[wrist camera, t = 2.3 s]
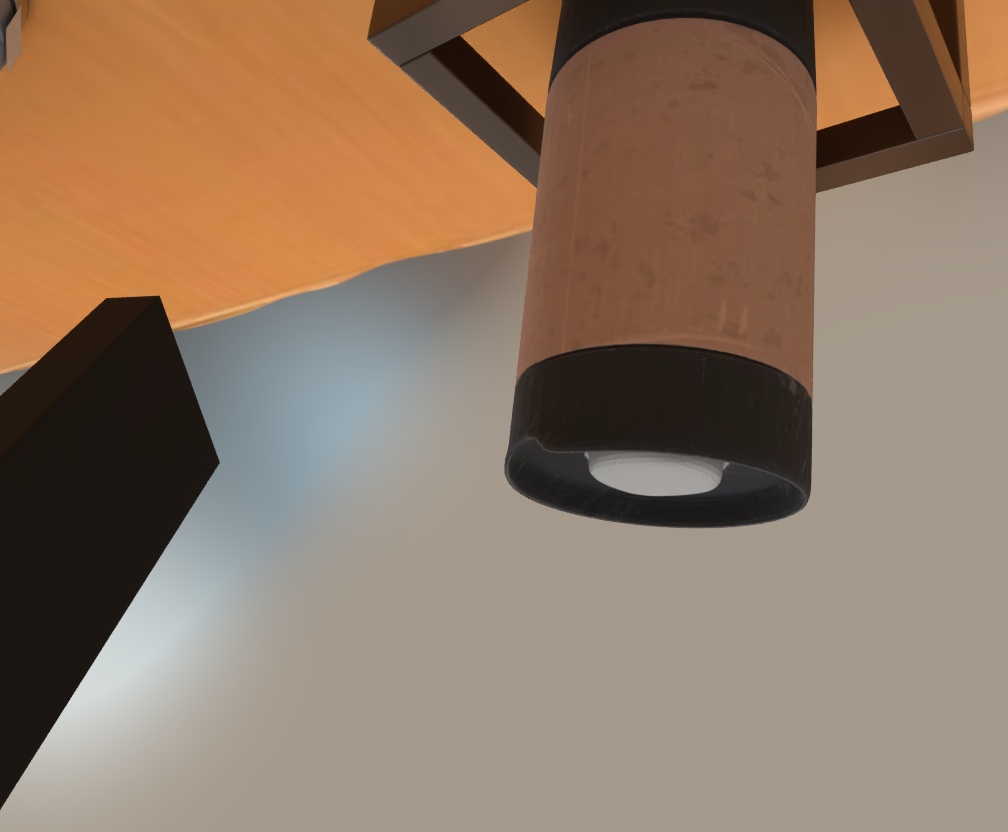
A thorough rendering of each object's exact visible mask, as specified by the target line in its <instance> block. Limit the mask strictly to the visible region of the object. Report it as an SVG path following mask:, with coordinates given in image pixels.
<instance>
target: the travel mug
mask: <svg viewBox="0 0 1008 832" xmlns="http://www.w3.org/2000/svg"><path fill="white" fill-rule="evenodd" d="M816 95H817V94H816V67H815V40H814V13H813V0H563V1H562V7H561V13H560V20H559V26H558V32H557V39H556V45H555V51H554V57H553V64H552V70H551V76H550V82H549V89H548V97H547V104H546V112H545V121H544V130H543V139H542V148H541V157H540V167H539V176H538V185H537V194H536V203H535V212H534V221H533V230H532V239H531V249H530V258H529V268H528V277H527V286H526V295H525V303H524V312H523V321H522V331H521V340H520V349H519V358H518V367H517V376H516V385H515V394H514V403H513V412H512V421H511V430H510V439H509V446H508V451H507V455H506V458H505V476H506V478H507V481H508V482H509V484H510V485H511V486H512V487H513V489H515V490H516V491H517V492H519V493H520V494H522V495H523V496H525V497H527V498H528V499H531V500H533V501H535V502H537V503H540V504H542V505H545V506H548V507H551V508H554V509H557V510H560V511H564V512H568V513H572V514H576V515H580V516H585V517H589V518H595V519H600V520H605V521H612V522H619V523H626V524H635V525H645V526H657V527H673V528H674V527H675V528H723V527H738V526H748V525H755V524H762V523H767V522H772V521H776V520H779V519H783V518H786V517H788V516H791V515H793V514H795V513H797V512H798V511H800V510H802V509H803V508H804V507H805V506H806V504H807V502H808V499H809V496H810V491H811V466H812V396H813V393H812V392H813V328H814V326H813V325H814V261H815V260H814V258H815V195H816V129H817V101H816Z"/></svg>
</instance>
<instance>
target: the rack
mask: <svg viewBox="0 0 1008 832" xmlns="http://www.w3.org/2000/svg"><path fill="white" fill-rule="evenodd" d="M527 1H529V0H375V3H374V7H373V12H372V17H371V22H370V27H369V32H368V37H367V40H368V41H369V42H370V43H371V44H372V45H373V46H374V47H376V48H377V49H378V50H379V51H380V52H381V53H382V54H384V55H385V56H386V57H387V58H388V59H389V60H390V61H392V62H393V63H394V64H395V65H396V66H399V67H400V69H401V70H402V71H403V72H404V73H406V74H407V75H408V76H409V77H410V78H411V79H412V80H414V81H415V82H416V83H417V84H418V85H419V86H420V87H422V88H423V89H424V90H425V91H426V92H427V93H428V94H430V95H431V96H432V97H433V98H434V99H435V100H437V101H438V102H439V103H440V104H441V105H442V106H443V107H445V108H446V109H447V110H448V111H449V112H450V113H451V114H453V115H454V116H455V117H456V118H457V119H458V120H459V121H461V122H462V123H463V124H464V125H465V126H466V127H467V128H469V129H470V130H471V131H472V132H473V133H474V134H475V135H477V136H478V137H479V138H480V139H481V140H482V141H483V142H485V143H486V144H487V145H488V146H489V147H490V148H491V149H493V150H494V151H495V152H496V153H497V154H498V155H499V156H501V157H502V158H503V159H504V160H505V161H506V162H507V163H509V164H510V165H511V166H512V167H513V168H514V169H515V170H517V171H518V172H519V173H520V174H521V175H522V176H523V177H525V178H526V179H527V180H528V181H529V182H530V183H531V184H533V185H534V186H535V187H536V188H537V185H538V176H539V167H540V157H541V148H542V139H543V130H544V121H545V118H544V117H543V116H541V115H540V114H539V113H538V112H537V111H536V110H535V109H534V108H533V107H532V106H531V105H530V104H529V103H528V102H527V101H526V100H525V99H524V98H523V97H522V96H521V95H520V94H519V93H518V92H517V91H516V90H515V89H514V88H513V87H512V86H511V85H510V84H509V83H508V82H507V81H506V80H505V79H504V78H503V77H502V76H501V75H500V74H499V73H498V72H497V71H496V70H495V69H494V68H493V67H492V66H491V65H490V64H489V63H488V62H487V61H486V60H485V59H484V58H483V57H482V56H480V55H479V54H478V53H477V52H476V51H475V50H474V49H473V48H472V47H471V46H470V45H469V44H468V43H467V42H466V41H465V40H464V39H463V38H462V37H461V36H460V35H461V34H463V33H465V32H467V31H469V30H471V29H473V28H475V27H477V26H479V25H481V24H483V23H485V22H487V21H489V20H491V19H493V18H495V17H497V16H499V15H501V14H503V13H505V12H507V11H509V10H511V9H513V8H515V7H517V6H519V5H521V4H523V3H525V2H527ZM849 2H850V4H851V6H852V8H853V10H854V12H855V14H856V16H857V18H858V20H859V22H860V24H861V26H862V29H863V31H864V33H865V35H866V37H867V39H868V41H869V43H870V45H871V47H872V49H873V51H874V53H875V55H876V57H877V59H878V61H879V63H880V65H881V68H882V70H883V72H884V74H885V76H886V78H887V80H888V82H889V84H890V86H891V88H892V90H893V92H894V94H895V96H896V98H897V100H898V102H899V104H900V105H898V106H895V107H892V108H889V109H885V110H882V111H879V112H876V113H872V114H869V115H866V116H863V117H860V118H856V119H853V120H850V121H847V122H844V123H840V124H837V125H834V126H831V127H827V128H824V129H821V130H818V131H816V193H818V192H822V191H825V190H829V189H833V188H837V187H841V186H844V185H848V184H852V183H856V182H859V181H863V180H866V179H870V178H874V177H878V176H882V175H885V174H889V173H893V172H897V171H900V170H904V169H908V168H912V167H915V166H919V165H922V164H927V163H930V162H934V161H938V160H942V159H945V158H949V157H953V156H956V155H960V154H964V153H968V152H971V151H973V150H974V144H973V129H972V113H971V109H970V107H971V102H970V87H969V72H968V57H967V43H966V28H965V13H964V0H849Z"/></svg>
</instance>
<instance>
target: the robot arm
mask: <svg viewBox="0 0 1008 832" xmlns="http://www.w3.org/2000/svg"><path fill="white" fill-rule="evenodd" d="M28 6H29V2H28V0H0V72H1V71H2V69H3V68H4V66H5V65H6V63H7V74H8V73H9V71H10V69H11V68H12V66H13V65H14V63H15V61H16V60H17V58H18V57H19V55H20V53H21V32H22V29H23V26H24V24H25V21H26V18H27V14H28ZM219 463H220V462H219V459H218V456H217V454H216V451H215V448H214V445H213V443H212V440H211V437H210V434H209V431H208V429H207V426H206V423H205V420H204V418H203V415H202V412H201V409H200V407H199V404H198V401H197V398H196V395H195V393H194V390H193V387H192V384H191V381H190V379H189V376H188V373H187V370H186V368H185V365H184V362H183V359H182V357H181V354H180V351H179V348H178V346H177V343H176V340H175V337H174V334H173V332H172V329H171V326H170V323H169V320H168V318H167V315H166V312H165V309H164V307H163V304H162V301H161V298H160V296H143V297H122V298H106V299H105V300H104V301H103V302H102V303H101V304H99V305H98V306H97V307H96V308H95V309H94V310H93V311H92V312H91V313H90V314H89V315H88V316H86V317H85V318H84V319H83V320H82V321H81V322H80V323H79V324H78V325H77V326H76V327H75V328H73V329H72V330H71V331H70V332H69V333H68V334H67V335H66V336H65V337H64V338H63V339H62V340H60V341H59V342H58V343H57V344H56V345H55V346H54V347H53V348H52V349H51V350H50V351H49V352H47V353H46V354H45V355H44V356H43V357H42V358H41V359H40V360H39V361H38V362H37V363H36V364H35V365H33V366H32V367H31V368H30V369H29V370H28V371H27V372H26V373H25V374H24V375H23V376H22V377H20V378H19V379H18V380H17V381H16V382H15V383H14V384H13V385H12V386H11V387H10V388H9V389H7V390H6V391H5V392H4V393H3V394H2V395H1V396H0V809H1V807H2V806H3V805H4V803H5V801H6V800H7V798H8V797H9V795H10V793H11V792H12V790H13V789H14V787H15V785H16V784H17V782H18V781H19V779H20V778H21V776H22V774H23V773H24V771H25V770H26V768H27V767H28V765H29V763H30V762H31V760H32V759H33V757H34V755H35V754H36V752H37V751H38V749H39V748H40V746H41V744H42V743H43V741H44V740H45V738H46V737H47V735H48V733H49V732H50V730H51V729H52V727H53V725H54V724H55V722H56V721H57V719H58V718H59V716H60V714H61V713H62V711H63V710H64V708H65V707H66V705H67V703H68V702H69V700H70V698H71V697H72V695H73V694H74V692H75V691H76V689H77V688H78V686H79V684H80V683H81V681H82V680H83V678H84V677H85V675H86V673H87V672H88V670H89V669H90V667H91V665H92V664H93V662H94V661H95V659H96V657H97V656H98V654H99V653H100V651H101V650H102V648H103V646H104V645H105V643H106V642H107V640H108V639H109V637H110V635H111V634H112V632H113V631H114V629H115V628H116V626H117V624H118V623H119V621H120V620H121V618H122V616H123V615H124V613H125V612H126V610H127V608H128V607H129V605H130V604H131V602H132V601H133V599H134V597H135V596H136V594H137V593H138V591H139V589H140V588H141V586H142V585H143V583H144V582H145V580H146V578H147V577H148V575H149V573H150V572H151V571H152V569H153V567H154V566H155V564H156V563H157V561H158V560H159V558H160V556H161V555H162V553H163V552H164V550H165V548H166V547H167V545H168V544H169V542H170V541H171V539H172V537H173V536H174V534H175V533H176V531H177V530H178V528H179V526H180V525H181V523H182V522H183V520H184V518H185V517H186V515H187V514H188V512H189V510H190V509H191V507H192V506H193V504H194V503H195V501H196V499H197V498H198V496H199V495H200V493H201V491H202V490H203V488H204V487H205V485H206V484H207V481H208V480H209V479H210V477H211V476H212V474H213V473H214V471H215V469H216V468H217V466H218V465H219Z"/></svg>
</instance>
